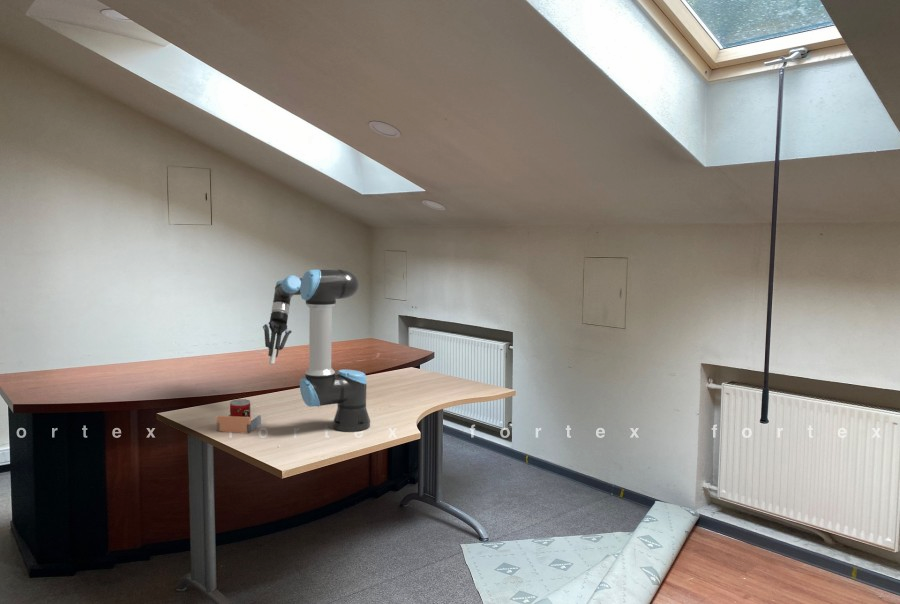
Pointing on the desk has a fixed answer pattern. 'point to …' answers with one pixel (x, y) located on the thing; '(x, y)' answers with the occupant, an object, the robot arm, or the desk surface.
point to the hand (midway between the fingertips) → (271, 363)
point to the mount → (237, 423)
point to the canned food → (240, 408)
